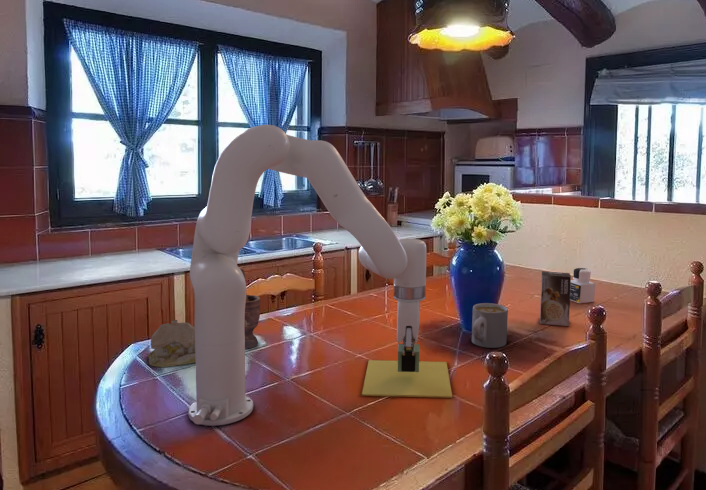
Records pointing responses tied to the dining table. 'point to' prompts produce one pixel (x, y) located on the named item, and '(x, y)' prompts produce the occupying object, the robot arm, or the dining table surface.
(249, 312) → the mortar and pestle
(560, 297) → the coffee box
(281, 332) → the dining table surface
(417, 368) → the toy block
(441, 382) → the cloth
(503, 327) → the coffee mug
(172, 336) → the ceramic model
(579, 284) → the medicine bottle
